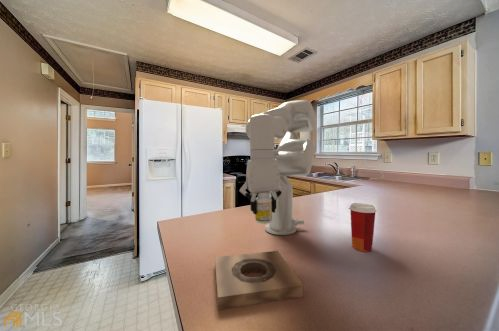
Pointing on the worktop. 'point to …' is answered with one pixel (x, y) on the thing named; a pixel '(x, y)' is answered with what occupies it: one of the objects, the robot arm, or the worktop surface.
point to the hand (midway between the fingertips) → (263, 211)
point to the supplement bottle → (263, 208)
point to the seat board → (254, 279)
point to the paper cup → (362, 226)
